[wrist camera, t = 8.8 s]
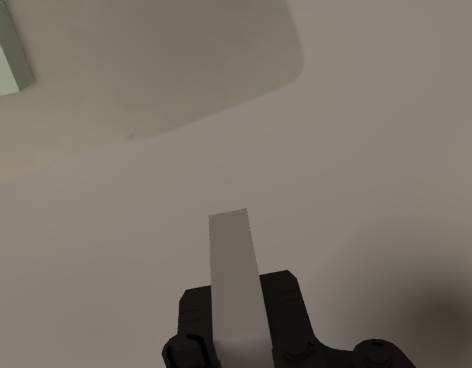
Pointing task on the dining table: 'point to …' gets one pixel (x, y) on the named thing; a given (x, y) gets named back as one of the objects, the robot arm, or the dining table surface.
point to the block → (11, 57)
